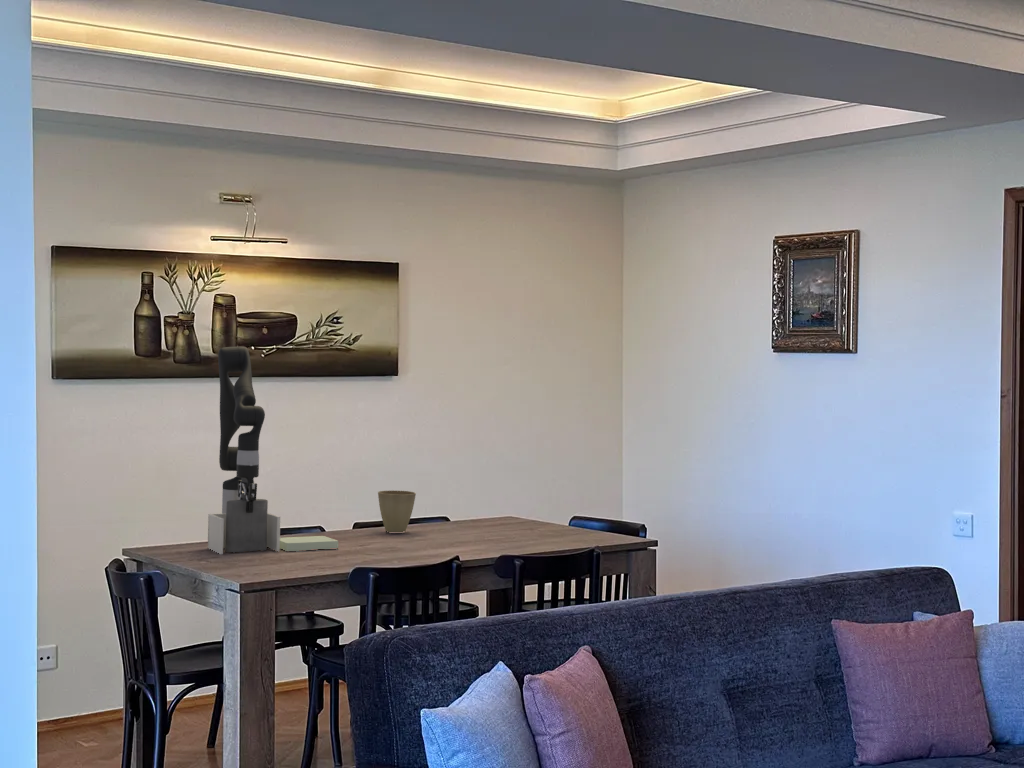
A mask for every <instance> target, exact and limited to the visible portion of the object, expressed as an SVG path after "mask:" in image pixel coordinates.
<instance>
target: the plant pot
mask: <svg viewBox="0 0 1024 768" xmlns="http://www.w3.org/2000/svg"><path fill="white" fill-rule="evenodd" d="M416 494H417V492H415V491H411V490H410V491H408V490H380V491H377V495H378V497H377V498H378V505H379V506H378V507H379V511H380V515H381V521H382V524H383V526H384V530H385V532H386V531H388V532H403V531H405V532H406V531H407V528H408V525H409V524H410V520H411V518H412V517H411V516H412V514H413V510H414V505H415V500H416Z"/></svg>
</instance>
